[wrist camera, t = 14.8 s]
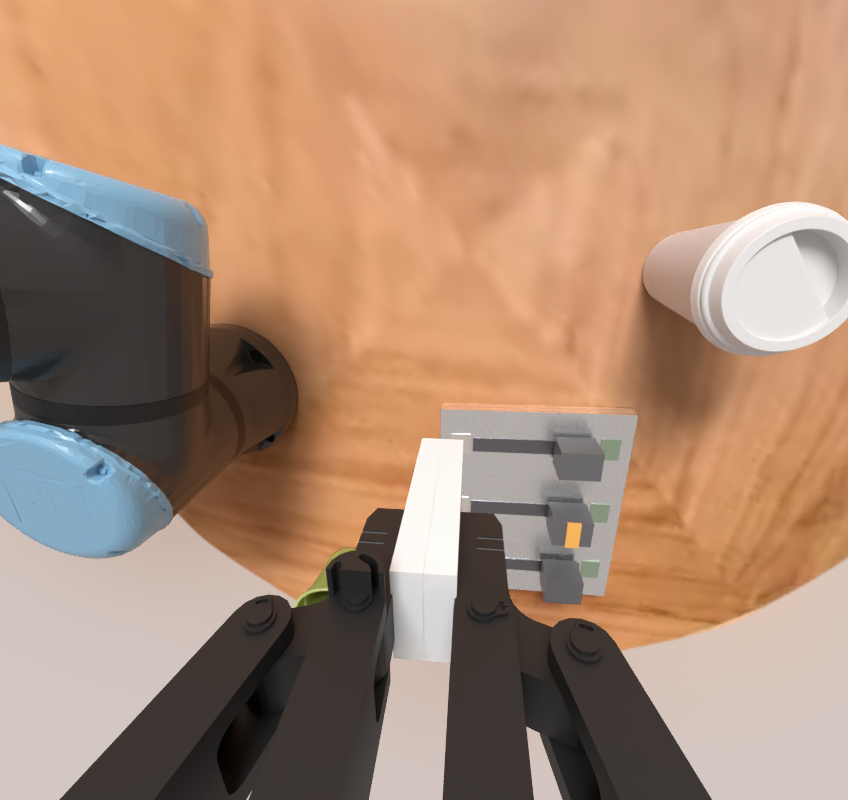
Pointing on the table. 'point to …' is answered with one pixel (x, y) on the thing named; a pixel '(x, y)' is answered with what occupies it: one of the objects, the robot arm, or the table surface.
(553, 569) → the block
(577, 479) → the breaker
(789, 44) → the table surface
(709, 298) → the coffee cup
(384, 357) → the table surface
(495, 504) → the panel
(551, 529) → the breaker
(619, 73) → the table surface
